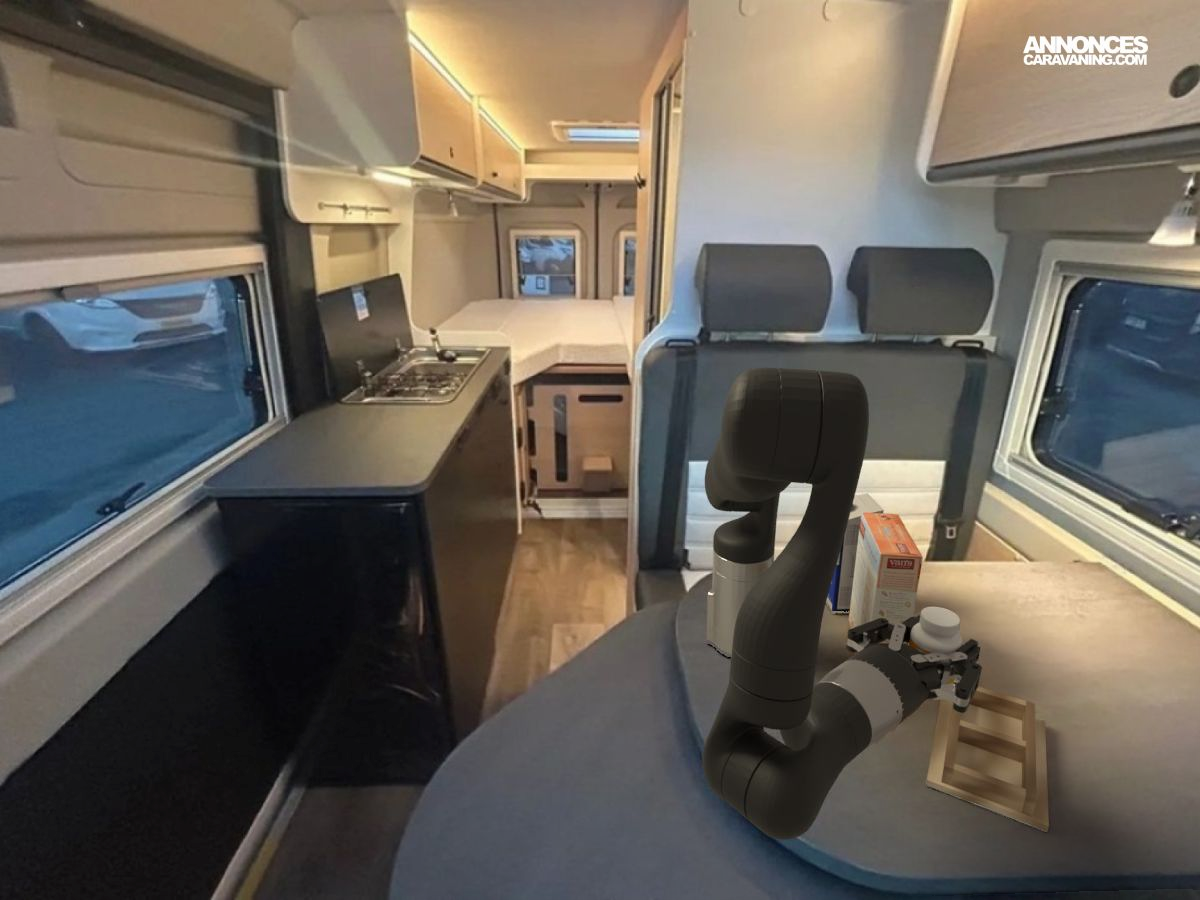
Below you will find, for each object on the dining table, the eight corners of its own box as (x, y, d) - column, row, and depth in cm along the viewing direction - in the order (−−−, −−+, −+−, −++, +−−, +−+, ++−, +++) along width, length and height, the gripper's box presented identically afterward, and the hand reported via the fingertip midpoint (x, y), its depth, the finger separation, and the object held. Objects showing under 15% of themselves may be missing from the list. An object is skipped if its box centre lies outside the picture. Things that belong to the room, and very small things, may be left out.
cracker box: (906, 681, 91) (925, 555, 84) (862, 677, 93) (878, 553, 86) (885, 625, 104) (900, 512, 97) (847, 621, 106) (859, 510, 99)
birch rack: (925, 786, 74) (929, 763, 73) (941, 694, 89) (945, 674, 87) (1047, 833, 68) (1053, 809, 67) (1043, 726, 82) (1048, 705, 81)
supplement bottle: (913, 664, 78) (924, 597, 74) (960, 685, 74) (974, 615, 71) (895, 685, 74) (906, 616, 71) (943, 708, 70) (957, 636, 67)
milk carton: (871, 614, 107) (884, 508, 101) (832, 615, 108) (842, 510, 101) (856, 591, 114) (867, 491, 107) (819, 592, 114) (828, 492, 108)
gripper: (941, 706, 57) (1020, 636, 67) (809, 632, 69) (893, 581, 78) (929, 769, 60) (1007, 693, 69) (804, 688, 71) (886, 632, 80)
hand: (946, 634), depth 73 cm, fingers closed on supplement bottle, 5 cm apart
